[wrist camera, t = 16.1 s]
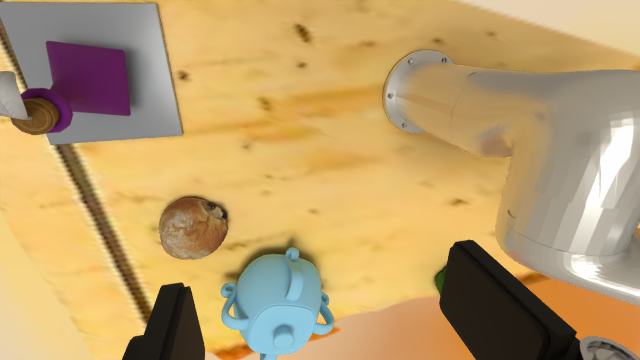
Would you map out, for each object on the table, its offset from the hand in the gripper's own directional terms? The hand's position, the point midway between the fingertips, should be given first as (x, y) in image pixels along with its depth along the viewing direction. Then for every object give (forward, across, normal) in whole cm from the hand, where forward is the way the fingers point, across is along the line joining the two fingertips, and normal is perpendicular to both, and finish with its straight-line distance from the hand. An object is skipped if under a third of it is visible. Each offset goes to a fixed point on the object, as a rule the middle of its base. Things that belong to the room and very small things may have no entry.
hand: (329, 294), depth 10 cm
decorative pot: (+38, +1, +33) cm, 51 cm away
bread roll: (+38, +13, +19) cm, 45 cm away
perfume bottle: (+37, +20, -4) cm, 42 cm away
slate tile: (+38, +20, -4) cm, 43 cm away
